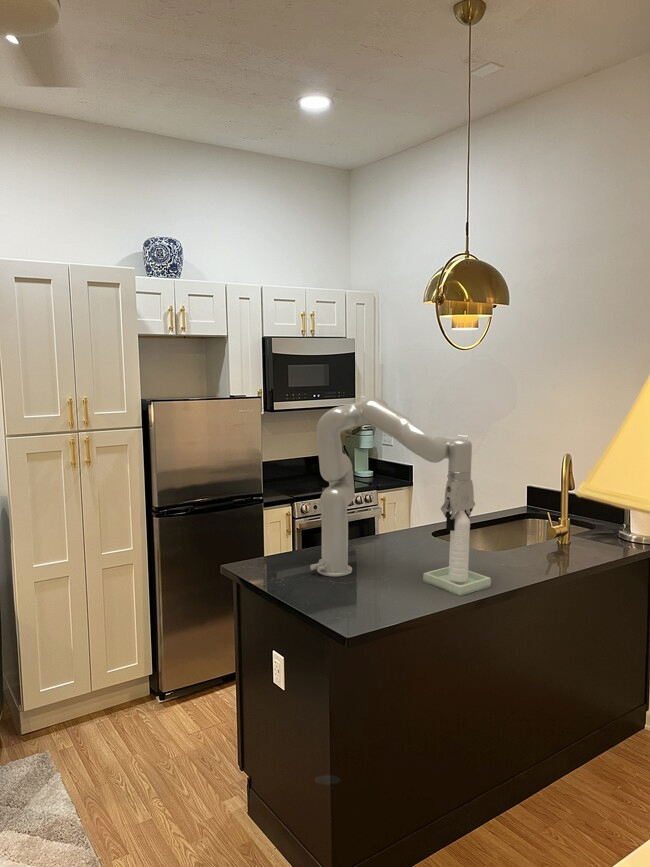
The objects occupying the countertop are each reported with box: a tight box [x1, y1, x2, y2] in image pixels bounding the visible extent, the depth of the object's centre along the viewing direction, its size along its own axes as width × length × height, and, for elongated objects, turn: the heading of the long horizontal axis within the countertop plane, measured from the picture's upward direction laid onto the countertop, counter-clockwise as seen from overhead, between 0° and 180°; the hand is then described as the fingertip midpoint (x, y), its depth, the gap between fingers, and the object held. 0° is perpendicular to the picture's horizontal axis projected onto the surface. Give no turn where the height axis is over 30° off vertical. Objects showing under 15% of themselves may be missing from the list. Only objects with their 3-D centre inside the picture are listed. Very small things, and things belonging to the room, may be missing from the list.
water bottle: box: [448, 510, 471, 582], centre depth 221 cm, size 9×6×25 cm
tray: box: [422, 566, 492, 597], centre depth 222 cm, size 15×17×3 cm
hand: (457, 527), depth 220 cm, fingers closed on water bottle, 6 cm apart
